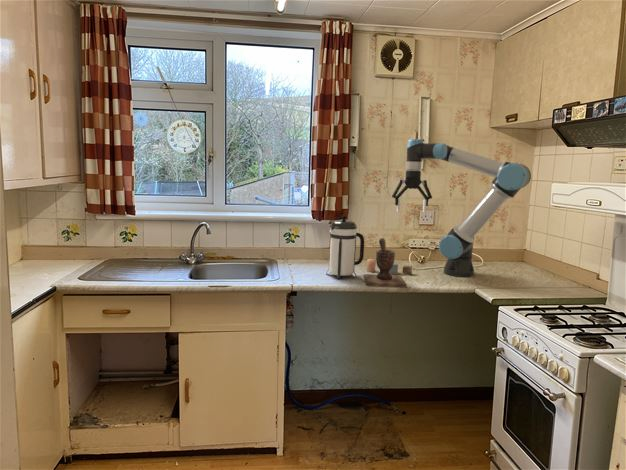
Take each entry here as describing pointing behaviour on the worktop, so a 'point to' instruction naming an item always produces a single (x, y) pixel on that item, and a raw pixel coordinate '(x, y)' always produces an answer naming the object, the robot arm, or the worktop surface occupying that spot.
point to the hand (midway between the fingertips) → (411, 212)
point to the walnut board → (384, 281)
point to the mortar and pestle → (384, 261)
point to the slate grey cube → (394, 269)
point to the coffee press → (344, 248)
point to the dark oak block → (407, 270)
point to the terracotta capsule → (371, 265)
